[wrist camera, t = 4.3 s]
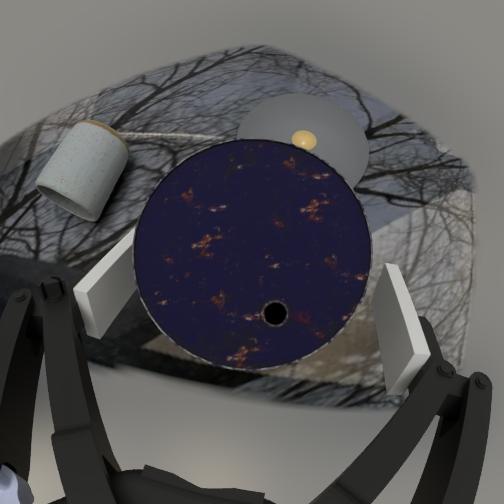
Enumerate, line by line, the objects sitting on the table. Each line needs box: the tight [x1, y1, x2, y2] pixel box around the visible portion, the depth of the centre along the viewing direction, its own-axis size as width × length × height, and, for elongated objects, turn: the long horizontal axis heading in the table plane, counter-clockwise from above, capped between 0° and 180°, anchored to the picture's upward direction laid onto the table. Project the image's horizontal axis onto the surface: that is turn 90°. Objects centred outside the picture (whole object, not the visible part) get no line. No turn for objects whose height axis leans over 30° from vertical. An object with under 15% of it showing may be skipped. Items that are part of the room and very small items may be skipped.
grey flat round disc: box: [237, 93, 369, 189], centre depth 29 cm, size 13×13×2 cm
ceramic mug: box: [35, 120, 129, 221], centre depth 26 cm, size 11×8×8 cm
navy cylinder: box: [132, 138, 373, 371], centre depth 19 cm, size 10×10×15 cm
